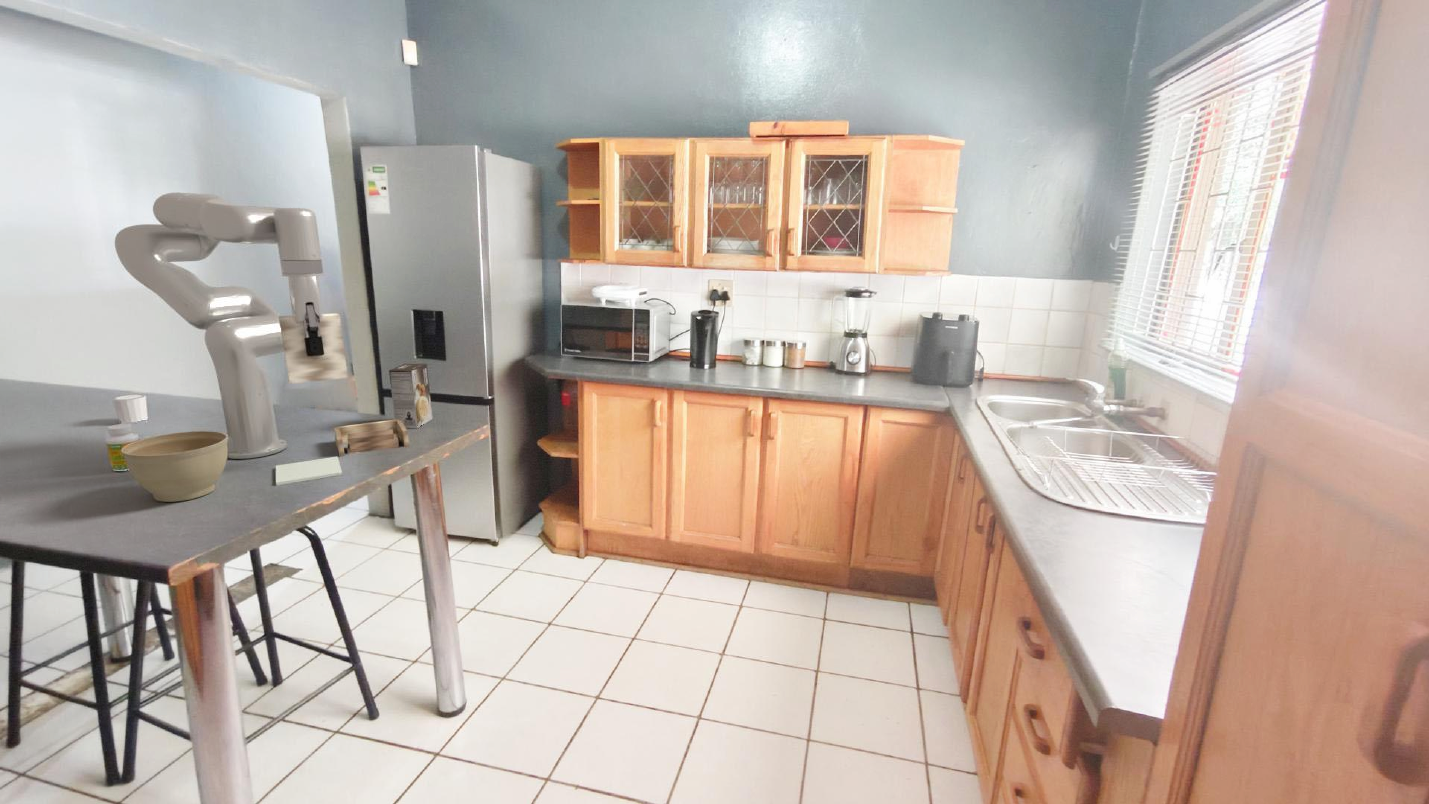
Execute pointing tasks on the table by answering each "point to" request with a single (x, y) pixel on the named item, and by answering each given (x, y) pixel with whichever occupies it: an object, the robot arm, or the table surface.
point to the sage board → (307, 470)
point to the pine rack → (396, 425)
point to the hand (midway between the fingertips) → (314, 353)
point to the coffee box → (411, 394)
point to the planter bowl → (178, 463)
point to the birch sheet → (313, 366)
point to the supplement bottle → (119, 444)
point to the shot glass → (131, 407)
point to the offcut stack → (372, 441)
